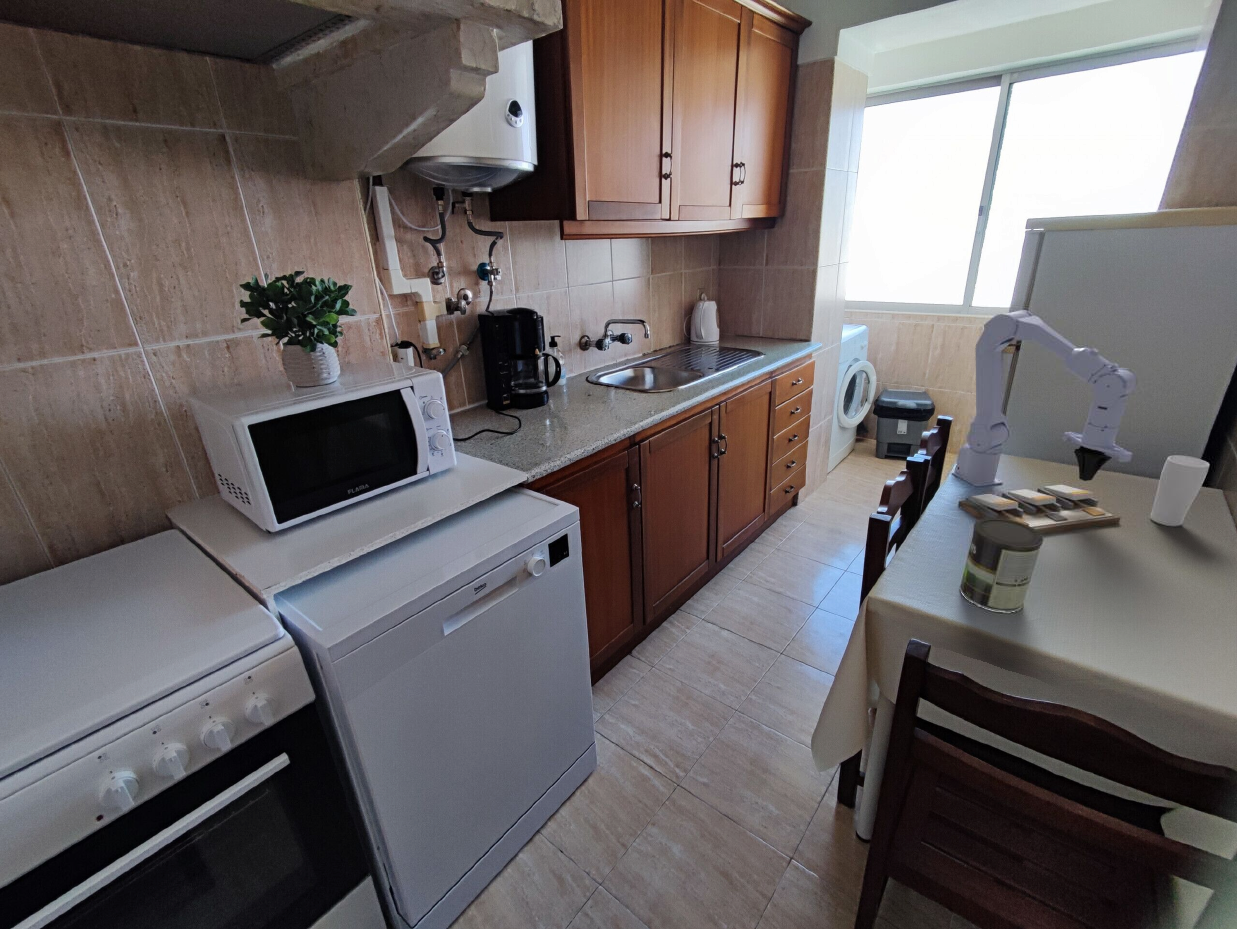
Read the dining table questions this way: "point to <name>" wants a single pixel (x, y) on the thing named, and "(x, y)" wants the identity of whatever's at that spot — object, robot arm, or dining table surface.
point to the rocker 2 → (1069, 492)
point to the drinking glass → (1178, 489)
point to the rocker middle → (1032, 497)
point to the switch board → (1047, 513)
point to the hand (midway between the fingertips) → (1085, 479)
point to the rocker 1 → (995, 502)
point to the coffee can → (1000, 563)
